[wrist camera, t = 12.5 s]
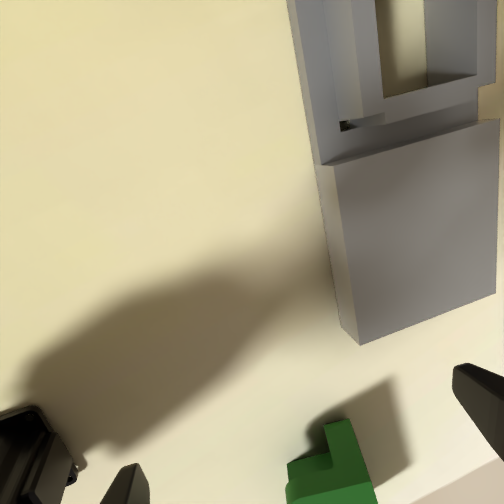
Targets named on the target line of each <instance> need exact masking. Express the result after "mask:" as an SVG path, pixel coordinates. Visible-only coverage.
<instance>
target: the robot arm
mask: <svg viewBox="0 0 504 504" xmlns="http://www.w3.org/2000/svg"><path fill="white" fill-rule="evenodd" d="M452 389H453V393H454V395H455V396H456V398H457V399H458V401H459V402H460V404H461V405H462V406H463V408H464V409H465V411H466V412H467V413H468V415H469V416H470V418H471V419H472V420H473V422H474V423H475V425H476V426H477V427H478V429H479V430H480V432H481V433H482V434H483V436H484V437H485V439H486V440H487V441H488V443H489V444H490V445H491V447H492V448H493V449H494V450H495V452H496V453H497V454H498V455H499V457H500V458H501V459H502V460H503V461H504V377H503V376H500V375H498V374H495V373H493V372H490V371H488V370H486V369H483V368H481V367H478V366H476V365H473V364H470V363H464V364H461V365H457V366H455V367H454V368H453V378H452ZM28 414H33V415H34V416H30V415H28ZM68 476H71V477H68ZM77 477H78V470H77V468H76V467H75V465H74V463H73V458H72V457H71V455H70V453H69V452H68V450H67V448H66V447H65V445H64V443H63V442H62V440H61V438H60V437H59V435H58V434H57V433H56V432H55V431H54V430H53V429H52V427H51V425H50V424H49V422H48V420H47V419H46V417H45V415H44V414H43V412H42V410H41V409H40V408H39V407H37V406H28V407H25V408H22V409H20V410H17V411H14V412H11V413H8V414H6V415H3V416H0V504H60V503H61V500H62V496H63V493H64V490H65V487H67V486H69V485H72V484H73V483H75V482H76V481H77ZM100 504H150V490H149V484H148V481H147V479H146V477H145V475H144V473H143V471H142V469H141V467H140V465H139V464H138V463H134V464H131V465H127V466H124V467H122V468H121V469H120V471H119V472H118V474H117V476H116V477H115V479H114V481H113V482H112V484H111V486H110V487H109V489H108V491H107V492H106V494H105V496H104V497H103V499H102V501H101V502H100Z"/></svg>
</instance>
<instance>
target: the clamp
mask: <svg viewBox="0 0 504 504" xmlns="http://www.w3.org/2000/svg"><path fill="white" fill-rule="evenodd" d="M324 429H325V433H326V437H327V441H328V445H329V449H330V452H328V453H324V454H320V455H316V456H312V457H308V458H304V459H300V460H296V461H292V462H290V463H288V464H287V470H288V479H289V482H288V484H287V485H286V488H285V492H286V501H287V504H378V502H377V499H376V495H375V492H374V489H373V486H372V483H371V480H370V477H369V474H368V471H367V468H366V465H365V462H364V459H363V457H362V454H361V451H360V448H359V445H358V442H357V439H356V436H355V433H354V431H353V428H352V425H351V422H350V419H345V420H341V421H337V422H333V423H330V424H326V425H324Z"/></svg>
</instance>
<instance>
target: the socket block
mask: <svg viewBox="0 0 504 504" xmlns="http://www.w3.org/2000/svg"><path fill="white" fill-rule="evenodd" d="M286 1H287V7H288V13H289V19H290V25H291V31H292V37H293V43H294V48H295V54H296V60H297V66H298V72H299V78H300V84H301V90H302V96H303V102H304V108H305V114H306V120H307V126H308V132H309V138H310V144H311V150H312V156H313V161H314V167H315V173H316V179H317V185H318V191H319V197H320V203H321V209H322V215H323V221H324V227H325V233H326V239H327V245H328V251H329V257H330V263H331V269H332V274H333V280H334V286H335V292H336V298H337V304H338V310H339V316H340V322H341V327H342V328H343V329H344V330H345V331H346V332H347V333H348V334H349V335H350V336H351V337H352V338H353V339H354V340H355V341H356V342H357V343H358V344H359V345H360V346H361V345H363V344H366V343H368V342H371V341H374V340H376V339H379V338H381V337H384V336H386V335H389V334H392V333H394V332H397V331H399V330H402V329H405V328H407V327H410V326H412V325H415V324H417V323H420V322H423V321H425V320H428V319H430V318H433V317H435V316H438V315H441V314H443V313H446V312H448V311H451V310H453V309H456V308H459V307H461V306H464V305H466V304H469V303H472V302H474V301H477V300H479V299H482V298H484V297H487V296H490V295H492V294H495V293H496V262H497V220H498V178H499V136H500V118H499V119H488V120H478V87H480V86H484V85H488V84H492V83H495V80H496V27H497V0H424V15H425V37H426V58H427V80H428V87H425V88H421V89H417V90H413V91H410V92H406V93H402V94H398V95H394V96H390V97H386V98H383V88H382V77H381V66H380V54H379V43H378V32H377V21H376V10H375V0H286ZM345 120H349V123H350V129H346V130H342V131H340V124H339V121H345Z"/></svg>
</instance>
